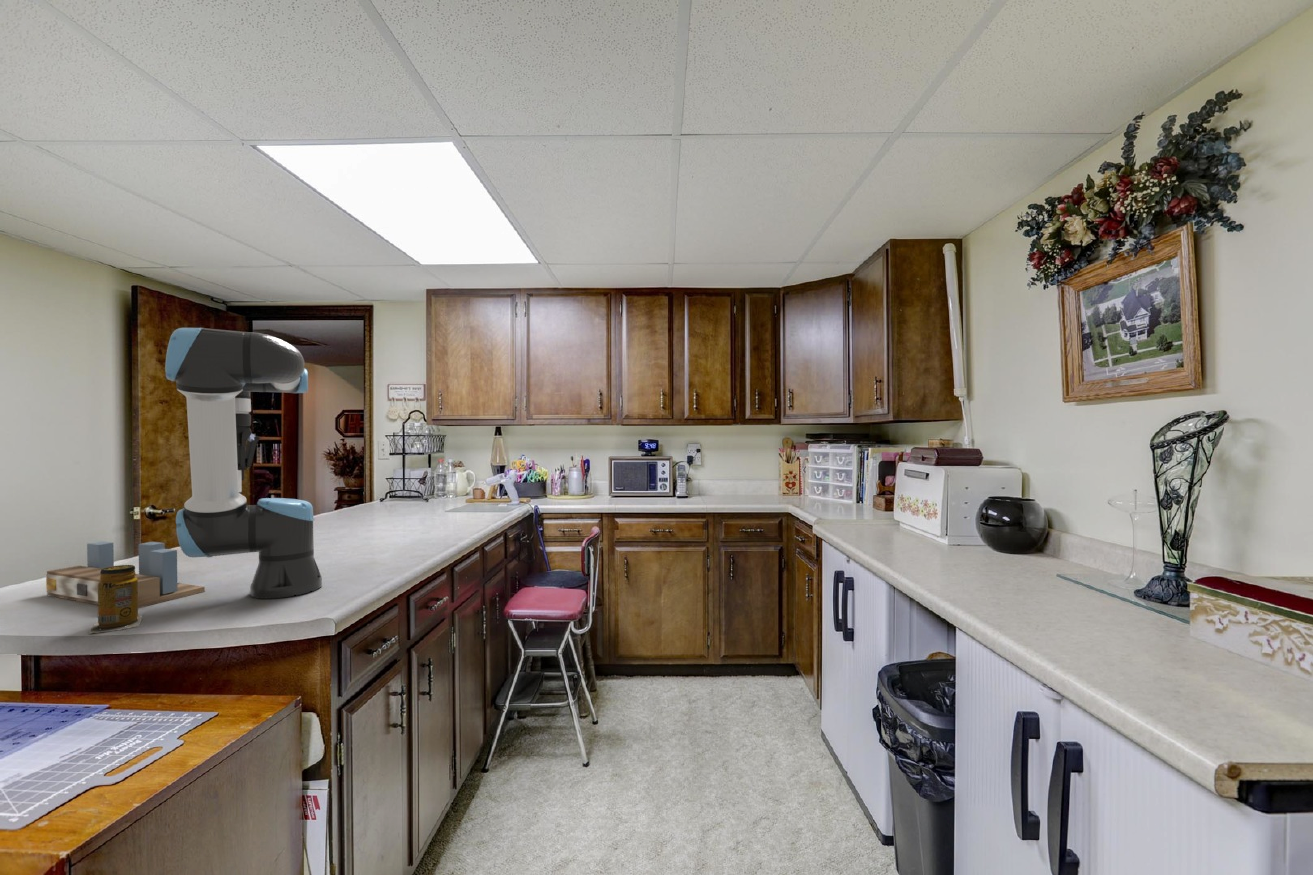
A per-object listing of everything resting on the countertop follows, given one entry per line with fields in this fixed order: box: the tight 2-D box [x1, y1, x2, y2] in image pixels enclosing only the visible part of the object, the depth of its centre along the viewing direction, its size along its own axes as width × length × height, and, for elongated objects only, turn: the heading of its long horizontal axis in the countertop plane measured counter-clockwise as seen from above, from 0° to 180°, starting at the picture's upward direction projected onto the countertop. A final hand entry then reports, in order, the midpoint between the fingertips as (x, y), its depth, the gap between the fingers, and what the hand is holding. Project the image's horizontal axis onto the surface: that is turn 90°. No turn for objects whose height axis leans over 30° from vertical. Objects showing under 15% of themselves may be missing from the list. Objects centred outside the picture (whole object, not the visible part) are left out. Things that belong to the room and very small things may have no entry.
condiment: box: [88, 564, 143, 635], centre depth 115 cm, size 7×8×12 cm
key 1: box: [86, 541, 115, 569], centre depth 143 cm, size 5×3×10 cm, turn 70°
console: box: [45, 565, 206, 609], centre depth 137 cm, size 33×16×6 cm, turn 70°
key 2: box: [149, 548, 178, 594], centre depth 134 cm, size 5×3×10 cm, turn 70°
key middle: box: [138, 541, 166, 576], centre depth 142 cm, size 5×3×10 cm, turn 70°
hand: (235, 492), depth 164 cm, fingers closed
